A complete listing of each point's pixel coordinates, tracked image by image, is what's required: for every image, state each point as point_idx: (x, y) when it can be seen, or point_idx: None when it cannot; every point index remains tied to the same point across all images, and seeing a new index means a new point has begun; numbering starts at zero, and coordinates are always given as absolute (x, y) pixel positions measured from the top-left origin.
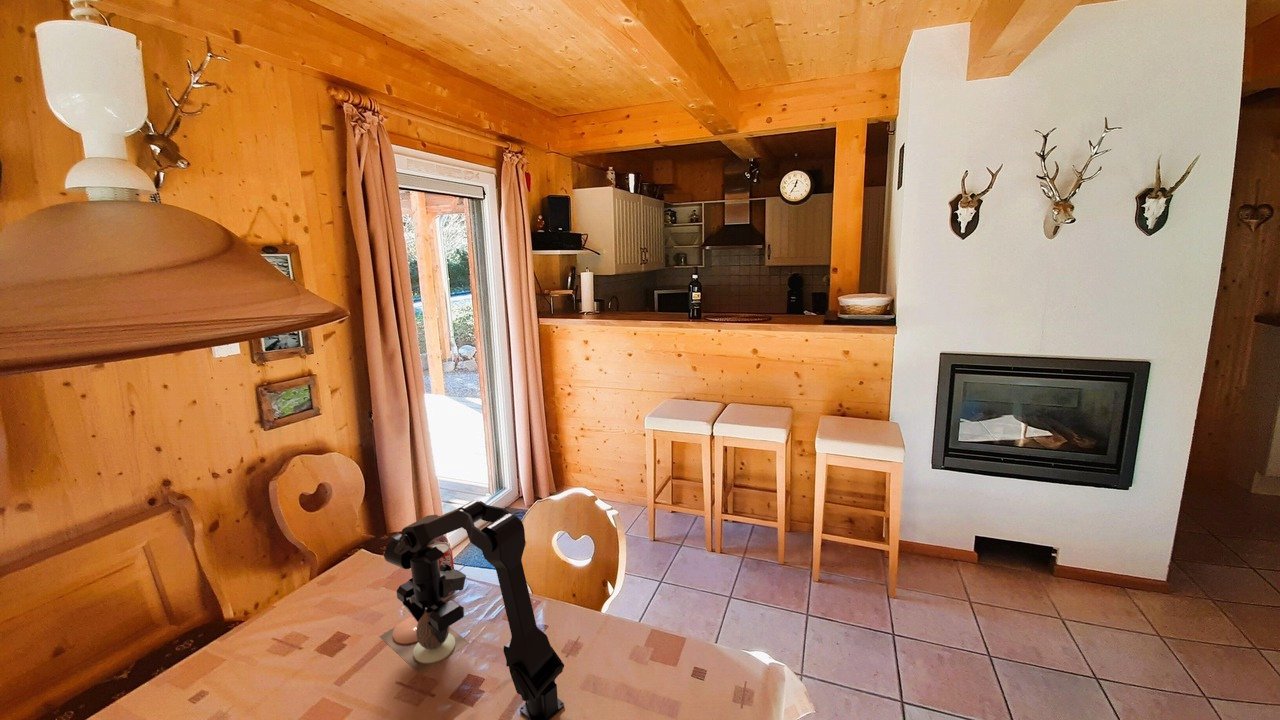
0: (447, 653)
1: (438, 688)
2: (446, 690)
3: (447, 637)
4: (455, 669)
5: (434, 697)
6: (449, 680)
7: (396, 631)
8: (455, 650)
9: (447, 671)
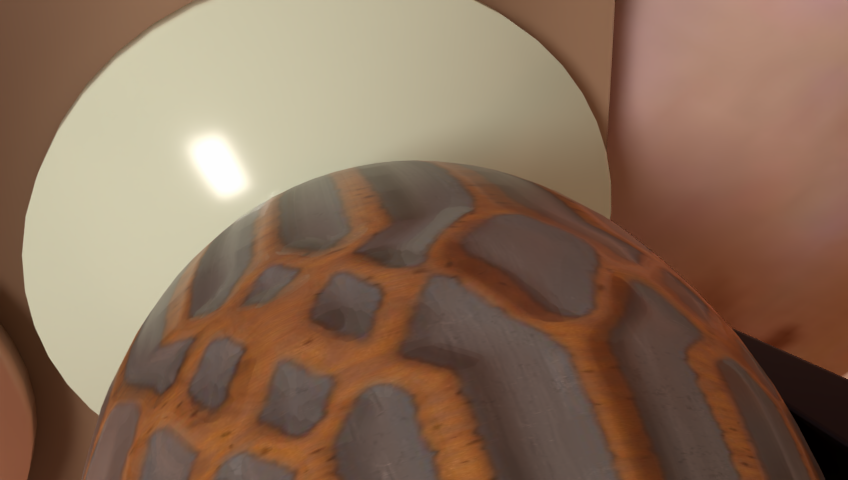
0: (604, 181)
1: (768, 300)
2: (838, 257)
3: (293, 73)
4: (739, 125)
5: (803, 337)
6: (787, 211)
7: None
8: (592, 54)
9: (690, 196)
